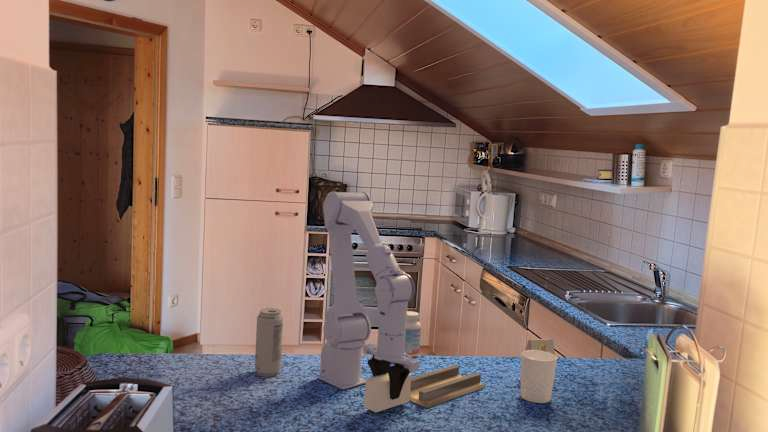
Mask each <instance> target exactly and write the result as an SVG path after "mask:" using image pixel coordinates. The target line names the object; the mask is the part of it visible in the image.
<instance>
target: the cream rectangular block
mask: <svg viewBox="0 0 768 432" xmlns="http://www.w3.org/2000/svg"><path fill="white" fill-rule="evenodd" d="M411 378H412V374H411V373H409V375H408V377H407V378H406V380H405V382H404V385H403V387H402V390H401V393H400V396H399V398H397V399H394V400H392V399H390V380H389V374H388V373H386V374H382V375H379V376H375V377H373V376H372V377H369V378H365V379H366V383H365V388H364V405H363V407H364V408H365V409H367V410H369V411H372V412H373V413H379V412H382V411H385V410H387V409H390V408H393V407H397V406H401V405H403V404H406V403H409V402H410V401H409V400H410V386H411Z"/></svg>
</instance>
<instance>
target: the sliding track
mask: <svg viewBox="0 0 768 432" xmlns="http://www.w3.org/2000/svg"><path fill="white" fill-rule="evenodd" d="M481 376H482V374H481V373H478V372H473V373H470V374H467V375H460V366H458V365H455V364H454V365H453V364H452V365H449V366H447V367H444V368H440V369H437V370H434V371H430V372H427V373H423V374H420V375H418V376H414V377H413V376H412V377H411V386H410V400H409V402H412V403H414V404H417V405H418V406H422V407H423V408H426V409H429V408H431V407H434V406H436V405H439V404H442V403H445V402H448V401H450V400H453V399H456V398H460V397H462V396H465V395H467V394H471V393H473V392H476V391H479V390H482V389H484V383H482V382H481V380H482V379H481Z"/></svg>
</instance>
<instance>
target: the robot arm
mask: <svg viewBox="0 0 768 432" xmlns="http://www.w3.org/2000/svg"><path fill="white" fill-rule="evenodd" d="M372 201H373V200H372V199H371V197H370V194H369V193H368V192H367V191H362V192H351V191H350V192H347V191H346V192H342V191H341V192H340V191H335V190H334V191H330V192H328V194H327V195H326V196H325V199H324V202H323V203H322V209H323V219H324V228H325V229H326V230H328V231H327V232H328V240H329V242H328V243H329V251H330V253H329V254H330V263H331V265H330V266H331V274H332V285H333V287H332V288H333V297H334V299H333V300H334V303H333V304H332V305H331V306H330V307H329V308H328V309H327V310H326V311H325V312H324V324H323V336H324V339H325V340H326V342H325V343H324V344H323V346H322V348H321V352H320V366H319V368H320V369H319V375H316V378H317V379H319V380H321V381H322V382H326V383H327V384H329V385H332V386H334V387H335V388H338V389H341V390H348V389H350V388H354V387H358V386H361V385H364V384H365V385H366V379H367V378H363V377H361V373H362V372H361V371H362V354H364V355H371V356H372V357H371V358H370V359H367V365H368V367H369V368H370V371H371V374H372V377H375V376H379V375H382V374H386V373H388V374H389V380H390V399H392V400H394V399H397V398H399V396H400V393H401V390H402V387H403V385H404V382H405V380H406V378H407V377H408V375H409V374H411V373H414V372H417V371H419V370H420V369H419V368H420V361H419V360H418V359H415V358H414V357H411V356H409V355H408V354H406V353H405V352H404V349H405V335H406V320H407V311H408V306H409V304H408V303H409V302H410V301H412V299H413V297H414V295H415V292H416V291H415V283H414V281H413V278H412V276H411V275H410V274H408V273H406V272H405V270H402V269H401V268H400V265H399V264H398V262H397V260H396V257H395V255H394V254H393V251H392V250H391V247H390V246H388V245H385V244H383V242H382V240H381V237H380V234H379V231H378V229H377V226H376V223H375V221H374V218H373V211H374V204H373V202H372ZM354 230H355V232H356V233H357V235H358V236H359V238H360V240H361V242H362V243H363V245H364V247H365V248H366V250H367V253H366V256H365V260H366V262H367V265H368V267H369V270H370V271H371V273H372V275H373V278H374V280H375V282H376V286H375V287H374V293H375V297H376V300H377V301H376V302H377V304H376V305H377V306H376V307H377V311H379V316H378V329H377V331H378V332H377V334H378V335H377V344H375V343H374V344H373V343H371V342H370V343H366V341H368V340H369V338H370V335H371V334H372V333H371V332H372V324H371V321H370V319H369V316H368V310H367V309H368V308H367V307H365V306H364V305H363V304H362V303H360V302H359V301H358V296H357V287H356V276H355V262H354V253H353V251H354V250H353V244H352V241H353V240H352V233H353V232H354ZM348 314H350V315H348ZM341 315H344V316H341ZM362 351H363V352H362ZM391 364H393V365H391Z"/></svg>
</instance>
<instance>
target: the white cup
mask: <svg viewBox="0 0 768 432" xmlns="http://www.w3.org/2000/svg"><path fill="white" fill-rule="evenodd" d="M520 359H521V360H520V361H521V363H520V398H522V399H523V400H525V401H527V402H531V403H535V404H536V403H537V404H545V403H549V402H551V400H552V395H553V394H552V393H553V388H554V382H555V377H556V370H557V362H558V357H557V356H556V354H555V355H554V354H552V353H549V352H545V351H540V350H526V351H525V350H524V351H522V352H521V356H520Z"/></svg>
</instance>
